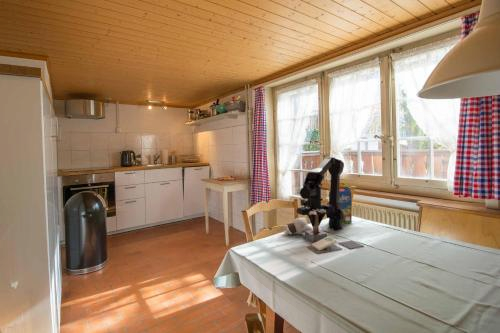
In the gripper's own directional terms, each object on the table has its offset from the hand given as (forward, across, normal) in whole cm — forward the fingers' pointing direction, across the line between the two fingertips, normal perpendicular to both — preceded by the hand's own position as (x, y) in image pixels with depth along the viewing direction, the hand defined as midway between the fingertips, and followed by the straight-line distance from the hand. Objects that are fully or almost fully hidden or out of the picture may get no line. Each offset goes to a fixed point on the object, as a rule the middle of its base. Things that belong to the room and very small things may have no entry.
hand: (315, 226), depth 131 cm
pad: (+7, -11, +13) cm, 18 cm away
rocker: (+5, +3, +11) cm, 12 cm away
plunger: (+6, 0, 0) cm, 6 cm away
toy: (+7, +4, -11) cm, 14 cm away
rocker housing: (+7, +3, +11) cm, 13 cm away
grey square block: (+7, 0, 0) cm, 7 cm away
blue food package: (+8, -31, -19) cm, 37 cm away
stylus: (+3, 0, 0) cm, 3 cm away
